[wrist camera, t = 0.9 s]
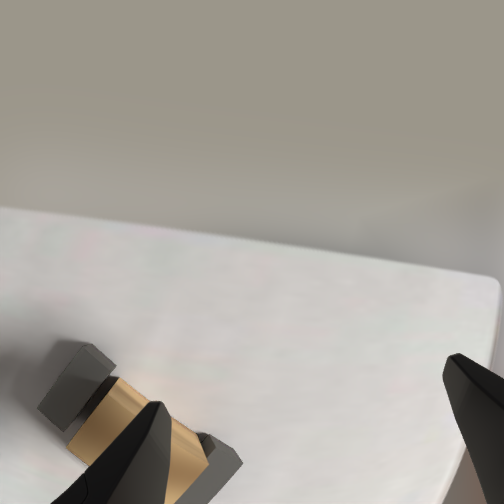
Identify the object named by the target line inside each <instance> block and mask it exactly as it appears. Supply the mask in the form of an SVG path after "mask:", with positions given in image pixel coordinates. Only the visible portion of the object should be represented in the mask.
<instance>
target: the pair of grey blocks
mask: <svg viewBox="0 0 504 504" xmlns="http://www.w3.org/2000/svg"><path fill="white" fill-rule="evenodd" d="M116 366H117V365H115V364H114V363H113V362H112V361H111V360H110V359H108V358H107V357H106V356H105V355H104V354H103V353H102V352H101V351H99V350H98V349H97V348H96V347H95V346H94V345H93V344H89V345H86V346H83V347H82V348H81V349H80V351H79V352H78V353H77V354H76V356H75V357H74V358H73V360H72V361H71V362H70V364H69V365H68V366H67V368H66V369H65V370H64V372H63V373H62V374H61V376H60V377H59V378H58V380H57V381H56V382H55V384H54V385H53V386H52V388H51V389H50V391H49V392H48V393H47V395H46V396H45V398H44V399H43V400H42V402H41V403H40V405H39V406H38V407H37V409H38V410H39V411H40V412H41V413H42V414H44V415H45V416H46V417H47V418H48V419H49V420H50V421H51V422H52V423H53V424H55V425H56V426H57V427H58V428H59V429H60V430H62V431H63V432H64V431H65V430H66V429H67V428H68V426H69V425H70V424H71V423H72V422H73V421H74V419H75V418H76V417H77V416H78V414H79V413H80V412H81V410H82V409H83V408H84V406H85V405H86V404H87V403H88V401H89V400H90V399H91V397H92V396H93V395H94V394H95V392H96V391H97V390H98V388H99V387H100V386H101V385H102V383H103V382H104V381H105V379H106V378H107V377H108V376H109V374H110V373H111V372H112V371H113V369H114V368H115V367H116ZM201 446H202V449H203V451H204V454H205V456H206V458H207V461H208V463H209V465H208V466H207V467H206V469H205V470H204V471H203V472H202V473H201V474H200V475H199V477H198V478H197V479H196V480H195V481H194V482H193V483H192V484H191V485H190V487H189V488H188V489H187V490H186V491H185V492H184V493H183V494H182V495H181V496H180V497H179V499H178V500H177V501H176V502H175V503H174V504H208V503H209V502H210V500H211V499H212V498H213V497H214V496H215V495H216V494H217V493H218V492H219V491H220V490H221V488H222V487H223V486H224V485H225V484H226V483H227V482H228V481H229V479H230V478H231V477H232V476H233V475H234V474H235V473H236V471H237V470H238V469H239V468H240V467H241V466H242V464H243V462H242V461H241V459H240V458H239V456H238V455H237V453H236V452H235V450H234V449H233V448H231V447H229V446H228V445H226V444H224V443H223V442H221V441H220V440H218V439H216V438H215V437H213V436H212V435H210V434H209V435H208V436H207V437H206V438H205V440H204V441H203V442H202V443H201Z"/></svg>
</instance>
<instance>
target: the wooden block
mask: <svg viewBox="0 0 504 504" xmlns="http://www.w3.org/2000/svg"><path fill="white" fill-rule="evenodd" d="M148 402H150V401H149V400H148V399H146V398H145V397H144V396H142V395H141V394H140V393H139V392H137V391H136V390H135V389H134V388H132V387H131V386H130V385H129V384H127V383H126V382H125V381H124V380H122V379H121V378H119V379H118V380H117V381H116V383H115V384H114V385H113V387H112V388H111V389H110V390H109V392H108V393H107V394H106V395H105V397H104V398H103V399H102V400H101V402H100V403H99V404H98V406H97V407H96V408H95V409H94V411H93V412H92V413H91V414H90V416H89V417H88V418H87V420H86V421H85V422H84V424H83V425H82V426H81V428H80V429H79V430H78V432H77V433H76V434H75V436H74V437H73V439H72V440H71V441H70V443H69V444H68V445H67V447H66V448H67V449H68V450H69V451H70V452H72V453H73V454H74V455H75V456H77V457H78V458H79V459H81V460H82V461H83V462H85V463H86V464H87V465H89V466H90V465H91V464H92V463H93V462H94V461H95V460H96V459H97V458H98V457H99V456H100V454H101V453H102V452H103V451H104V450H105V449H106V448H107V447H108V446H109V445H110V444H111V443H112V442H113V440H114V439H115V438H116V437H117V436H118V435H119V434H120V433H121V432H122V431H123V430H124V428H125V427H126V426H127V425H128V424H129V423H130V422H131V421H132V420H133V419H134V418H135V416H136V415H137V414H138V413H139V412H140V411H141V410H142V409H143V408H144V407H145V405H146V404H147V403H148ZM171 420H172V431H171V459H170V469H169V476H168V482H167V489H166V496H165V503H164V504H174V503H175V502H176V501H177V500H178V499H179V497H180V496H181V495H182V494H183V493H184V492H185V491H186V490H187V489H188V488H189V487H190V485H191V484H192V483H193V482H194V481H195V480H196V479H197V478H198V477H199V475H200V474H201V473H202V472H203V471H204V470H205V469H206V467H207V466H208V465H209V463H208V461H207V458H206V456H205V454H204V451H203V449H202V446H201V444H200V441H199V439H198V436H197V434H196V433H194V432H193V431H191V430H190V429H188V428H187V427H185V426H184V425H182V424H181V423H180V422H178V421H177V420H175V419H174V418H172V417H171Z"/></svg>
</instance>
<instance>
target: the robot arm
mask: <svg viewBox="0 0 504 504" xmlns="http://www.w3.org/2000/svg"><path fill="white" fill-rule="evenodd" d="M443 382H444V385H445V388H446V391H447V394H448V397H449V401H450V404H451V407H452V410H453V414H454V417H455V419H456V422H457V424H458V427H459V429H460V431H461V434H462V436H463V439H464V441H465V444H466V446H467V449H468V451H469V454H470V457H471V459H472V462H473V464H474V467H475V470H476V473H477V476H478V478H479V481H480V484H481V487H482V490H483V493H484V496H485V499H486V502H487V504H504V379H503V378H501V377H500V376H498V375H497V374H495V373H493V372H491V371H490V370H488V369H486V368H485V367H483V366H481V365H479V364H478V363H476V362H474V361H473V360H471V359H469V358H467V357H466V356H464V355H462V354H460V353H456V354H453V355H450V356H449V357H448V358H447V360H446V364H445V367H444V371H443ZM171 431H172V420H171V416H170V414H169V412H168V411H167V409H166V407H165V405H164V403H163V402H161V401H150V402H148V403H147V404H146V405H145V407H144V408H143V409H142V410H141V411H140V412H139V413H138V414H137V415H136V416H135V418H134V419H133V420H132V421H131V422H130V423H129V424H128V425H127V426H126V427H125V428H124V430H123V431H122V432H121V433H120V434H119V435H118V436H117V437H116V438H115V439H114V440H113V442H112V443H111V444H110V445H109V446H108V447H107V448H106V449H105V450H104V451H103V452H102V453H101V454H100V456H99V457H98V458H97V459H96V460H95V461H94V462H93V463H92V464H91V465H90V466H89V467H88V468H87V469H86V471H85V472H84V473H83V474H82V475H81V476H80V477H79V478H78V479H77V480H76V481H75V482H74V483H73V484H72V485H71V486H70V487H69V488H68V489H67V490H66V491H65V492H63V493H62V494H61V495H60V496H59V497H58V498H57V499H55V500H54V501H53V502H52V503H51V504H164V503H165V496H166V489H167V482H168V476H169V469H170V459H171Z"/></svg>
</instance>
